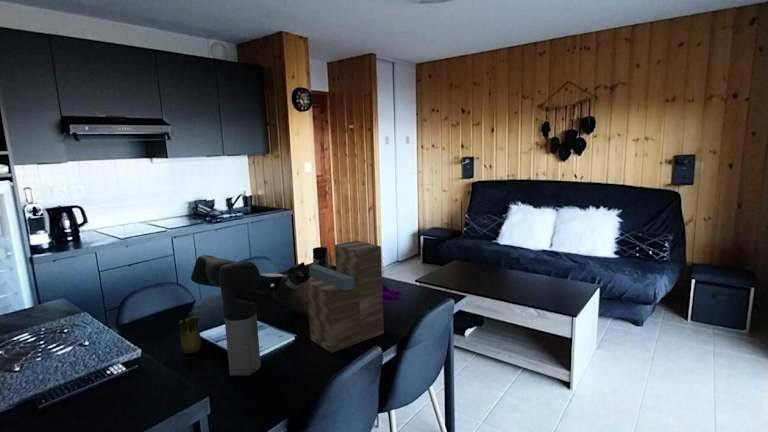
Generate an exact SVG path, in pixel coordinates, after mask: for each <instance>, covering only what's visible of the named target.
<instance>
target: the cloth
mask: <svg viewBox="0 0 768 432" xmlns="http://www.w3.org/2000/svg"><path fill="white" fill-rule="evenodd" d="M382 294H383V303H391V302H392V301H394V300H397V301H398V300H400V299H403V297H402V296H400V295H399V294H401V292H400V290H398V289H396V288H392V289H391V288H390V289H389V287H388V286H386V285H385V284H383V283H382Z"/></svg>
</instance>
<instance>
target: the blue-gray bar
mask: <svg viewBox="0 0 768 432" xmlns="http://www.w3.org/2000/svg"><path fill="white" fill-rule="evenodd" d="M309 276H310V278H313V279H315V280H316V279H318V280H321V281H323V282H326V283H328V284H331V285H333V286H335V287H338V288H340V289H343V290H345V291H346V290H349V289H353V288H354V278H353V277H350V276H348V275H345V274H342V273H339V272H337V271H336V270H333V269H331V268H329V269H328V268H326V267H323V266H320V265H312V266H309Z"/></svg>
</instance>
